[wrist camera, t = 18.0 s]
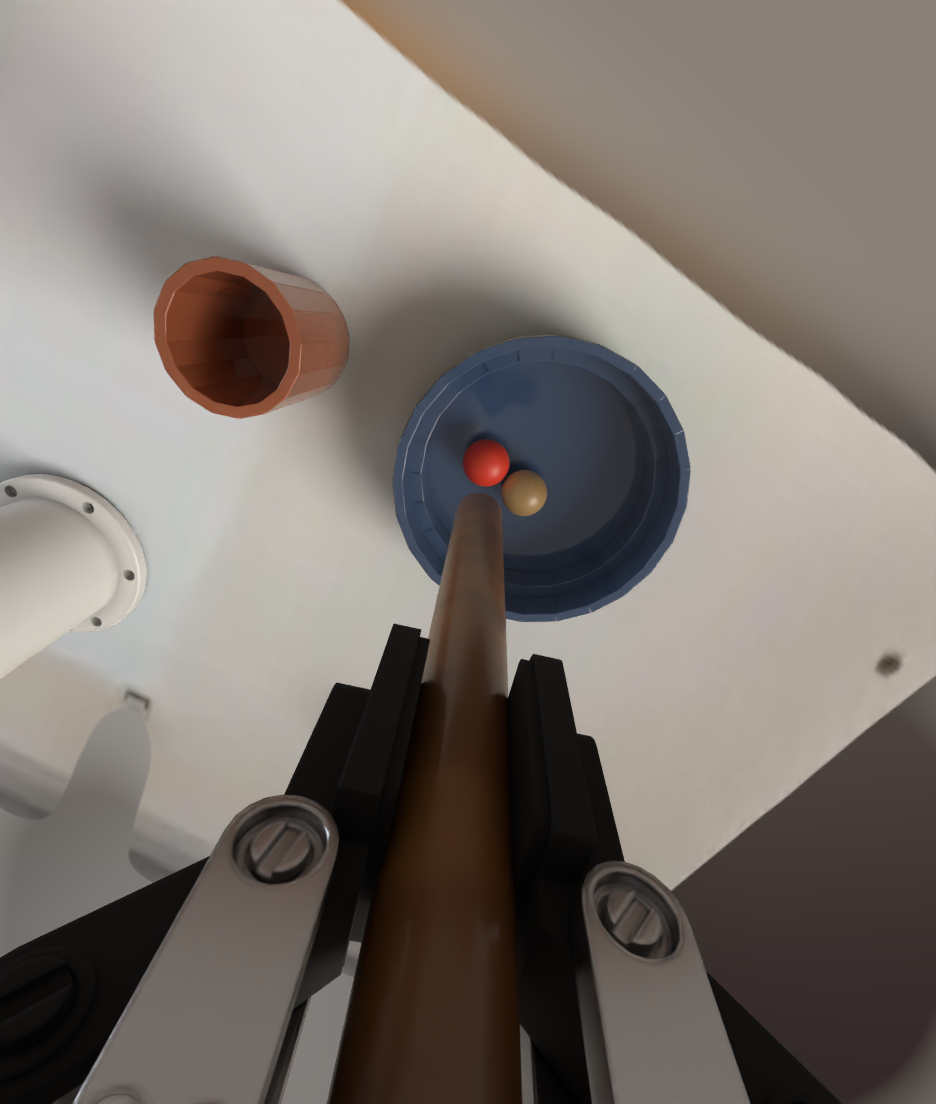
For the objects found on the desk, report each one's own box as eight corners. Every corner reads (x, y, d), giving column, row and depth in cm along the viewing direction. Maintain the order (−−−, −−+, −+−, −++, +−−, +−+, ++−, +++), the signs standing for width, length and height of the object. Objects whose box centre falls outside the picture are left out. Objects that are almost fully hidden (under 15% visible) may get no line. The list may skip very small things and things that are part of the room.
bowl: (390, 557, 40) (374, 590, 35) (432, 307, 33) (420, 303, 28) (616, 606, 40) (633, 646, 35) (702, 368, 34) (738, 376, 29)
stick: (451, 530, 21) (298, 1227, 5) (461, 487, 21) (322, 1127, 4) (495, 540, 21) (495, 1260, 5) (506, 498, 21) (552, 1168, 4)
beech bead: (488, 492, 36) (496, 492, 33) (520, 461, 36) (530, 458, 34) (517, 524, 37) (528, 526, 34) (549, 494, 37) (562, 493, 34)
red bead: (491, 457, 37) (452, 451, 36) (514, 433, 35) (472, 426, 33) (498, 496, 36) (458, 492, 35) (521, 474, 34) (479, 469, 32)
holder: (235, 383, 36) (154, 400, 27) (240, 263, 33) (151, 241, 25) (342, 407, 36) (294, 431, 28) (356, 289, 33) (307, 276, 25)
